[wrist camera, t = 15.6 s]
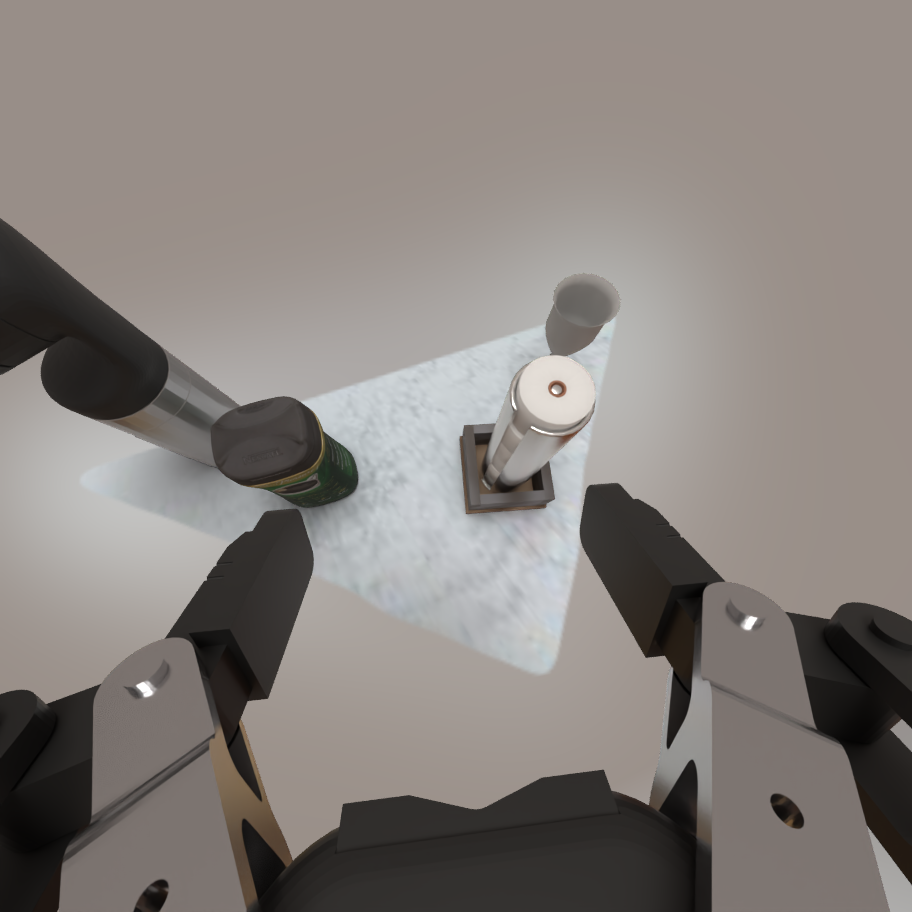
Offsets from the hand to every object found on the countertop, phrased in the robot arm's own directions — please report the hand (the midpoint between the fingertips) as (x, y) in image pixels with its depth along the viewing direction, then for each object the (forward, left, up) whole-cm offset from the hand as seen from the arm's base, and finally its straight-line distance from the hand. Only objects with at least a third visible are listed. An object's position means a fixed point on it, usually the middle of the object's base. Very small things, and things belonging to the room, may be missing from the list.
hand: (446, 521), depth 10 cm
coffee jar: (-16, +11, -39) cm, 44 cm away
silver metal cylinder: (+9, +10, -38) cm, 40 cm away
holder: (+9, +10, -39) cm, 41 cm away
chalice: (+17, +24, -39) cm, 49 cm away
